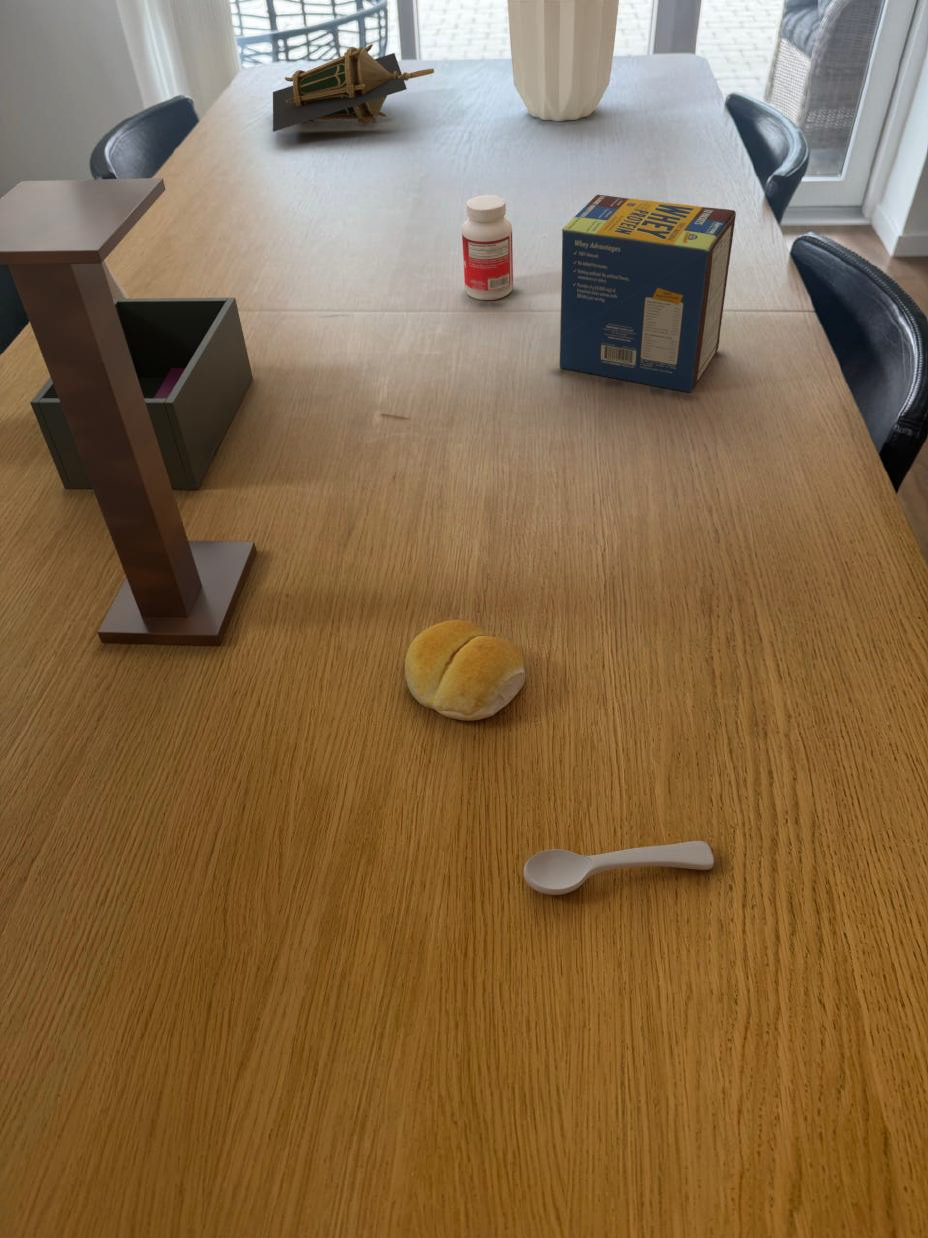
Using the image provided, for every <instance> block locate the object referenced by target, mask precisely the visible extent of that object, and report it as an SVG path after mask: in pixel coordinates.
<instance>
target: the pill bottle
mask: <svg viewBox="0 0 928 1238" xmlns="http://www.w3.org/2000/svg"><path fill="white" fill-rule="evenodd" d="M506 206H507V205H506V200H505V198H503V197H501V196H498V195H492V194H485V195H478V196H474V197H472V198H470V199H469V200H467V202H466V216H467V219H466V220H465V221H464V222H463V224H462V227H461V237H462V238H461V241H462V258H463V273H464V274H463V277H464V289H465V290H464V291H465V293H466V294H467V295H468V296H469V297H471V298H473V299H476V300H480V301H495V300H500V299H503V298H504V297H507V296H508V295H510V294H511V292H512V291H513V288H514V258H513V257H514V254H513V253H514V252H513V226H512V223H511V221H510V219H509V218H507V217H506V214H507V213H506V212H507V207H506Z"/></svg>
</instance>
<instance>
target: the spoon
mask: <svg viewBox="0 0 928 1238" xmlns="http://www.w3.org/2000/svg"><path fill="white" fill-rule="evenodd" d="M714 863H715V858H714V855H713V852H712V849H711V847H710V845H709V844H708V843H707V842H705V841H703V840H692V841H691V840H690V841H683V842H679V843H672V844H662V845H651V846H641V847H633V848H627V849H622V850H616V851H610V852H605V853H600V854H593V855H583V854H578V853H575V852H572V851H570V850H566V849H560V848H551V849H545V850H541V851H539V852H537V853H535V854H534V855H532V856H531V857H530V858H528V860H527V861H526V862H525V864H524V867H523V872H522V873H523V878H524V880H525V882H526V884H527V885H528V886H529V888H531V889H533V890H534V891H536V892H538V893H541V894H544V895H548V896H549V895H550V896H559V895H565V894H569V893H571V892H574V891H575V890H577V889H579V888H580V887H581V886H582V885H583V884H584V883H585V882H586V880H588V879H589V878H590V877H592V876H593V875H597V874H599V873H603V872H607V871H613V870H619V869H620V870H621V869H629V868H642V867H660V868H661V867H664V868H665V867H666V868H679V869H690V870H697V871H698V870H699V871H709V870H711V869H712V868H714Z"/></svg>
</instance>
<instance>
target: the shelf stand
mask: <svg viewBox="0 0 928 1238" xmlns="http://www.w3.org/2000/svg"><path fill="white" fill-rule="evenodd" d="M165 192H166V185H165V181H164V178H162V177H151V178H150V177H148V178H147V177H146V178H107V179H102V178H99V179H61V180H59V179H56V180H21V181H19V182H18V183H17V184H16V185H14V186H13V187H12V188H11V189H10V190H8V192H6V193H5V194H4V195H2V196H1V197H0V266H8V268H9V271H10V273H11V277H12V280H13V282H14V284H15V287H16V289H17V292H18V294H19V297H20V300H21V304H22V305H23V308H24V311H25V313H26V316H27V318H28V321H29V324H30V326H31V329H32V332H33V334H34V337H35V340H36V343H37V345H38V348H39V350H40V353H41V355H42V358H43V360H44V364H45V366H46V368H47V371H48V375H49V378H50V377H51V379H52V382H53V385H54V387H55V390H56V393H57V395H58V398H59V401H60V403H61V406H62V408H63V411H64V414H65V416H66V419H67V422H68V424H69V427H70V430H71V432H72V435H73V438H74V440H75V443H76V445H77V448H78V451H79V453H80V456H81V459H82V461H83V464H84V467H85V469H86V472H87V475H88V477H89V480H90V482H91V485H92V488H93V489H92V490H93V494H94V496H95V498H96V500H97V504H98V506H99V509H100V511H101V514H102V516H103V519H104V522H105V524H106V527H107V530H108V532H109V535H110V538H111V541H112V543H113V546H114V548H115V552H116V554H117V556H118V559H119V561H120V564H121V566H122V569H123V572H124V575H125V578H124V580H123V582H122V584H121V586H120V587H119V590H118V591H117V594H116V595H115V597H114V599H113V601H112V602H111V605H110V607H109V608H108V611H107V612H106V614H105V616H104V618H103V620H102V622H101V624H100V626H99V627H98V630H97V631H96V633H97V635H98V638H99V640H100V642H101V643H104V644H107V643H110V644H139V645H140V644H143V645H144V644H145V645H146V644H147V645H176V646H177V645H178V646H214V647H215V646H216V647H217V646H218V647H220V646H221V645H222V642H223V640H224V638H225V635H226V633H227V630H228V627H229V625H230V622H231V619H232V617H233V614H234V613H235V610H236V607H237V604H238V601H239V599H240V597H241V594H242V591H243V589H244V586H245V584H246V580H247V578H248V576H249V573H250V570H251V568H252V565H253V563H254V560H255V558H256V555H257V553H258V551H257V547H256V543H255V541H253V540H252V541H251V540H250V541H247V540H245V541H244V540H189V538H188V535H187V532H186V529H185V525H184V522H183V520H182V515H181V513H180V510H179V507H178V504H177V500H176V497H175V493H174V491H173V490H172V487H171V484H170V481H169V477H168V474H167V471H166V468H165V464H164V461H163V458H162V455H161V452H160V448H159V445H158V442H157V439H156V435H155V432H154V429H153V426H152V423H151V419H150V416H149V413H148V410H147V407H146V403H145V400H144V397H143V394H142V390H141V387H140V384H139V381H138V378H137V374H136V371H135V368H134V365H133V361H132V358H131V355H130V352H129V349H128V345H127V342H126V339H125V336H124V332H123V329H122V326H121V323H120V320H119V316H118V313H117V310H116V307H115V304H114V300H113V297H112V294H111V291H110V287H109V284H108V281H107V278H106V275H105V271H104V268H103V265H102V262H103V261H104V260H106V259H107V258H108V257H109V256H110V254H112V252H113V251H114V250H115V249H116V247H117V246H119V244H120V243H121V242H122V240H124V238H125V237H126V236H127V235H128V234H129V233H130V231H132V229H133V228H134V227H136V225H137V223H138V222H139V221H140V220H141V219H142V218H143V216H144V215H145V214H146V213H147V212H148V211H149V210H150V209H151V208H152V207H153V205H154V204H155V203H156V202H157V201H158V200H159V198H160V197H161V196H162V195H163V194H164V193H165Z"/></svg>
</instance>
